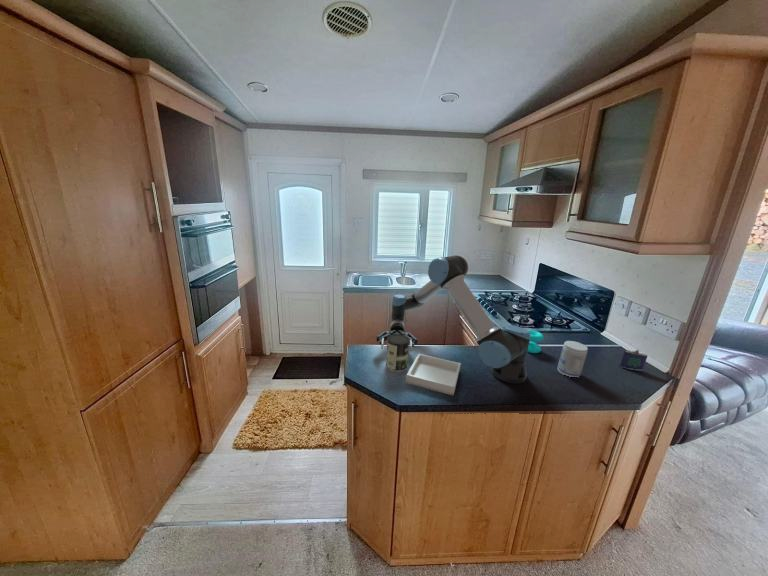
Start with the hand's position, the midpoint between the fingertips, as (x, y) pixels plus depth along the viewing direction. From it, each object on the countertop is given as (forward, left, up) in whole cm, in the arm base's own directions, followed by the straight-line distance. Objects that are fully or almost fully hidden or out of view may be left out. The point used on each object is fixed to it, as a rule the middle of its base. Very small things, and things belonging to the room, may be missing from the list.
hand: (396, 347), depth 137 cm
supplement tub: (-77, -27, -8) cm, 82 cm away
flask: (-108, -46, -8) cm, 117 cm away
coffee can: (-1, +3, -8) cm, 9 cm away
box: (-19, +4, -8) cm, 21 cm away
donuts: (-62, -45, -8) cm, 77 cm away
